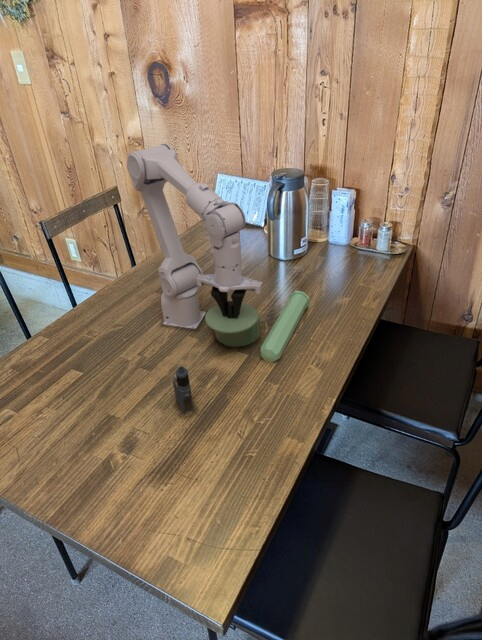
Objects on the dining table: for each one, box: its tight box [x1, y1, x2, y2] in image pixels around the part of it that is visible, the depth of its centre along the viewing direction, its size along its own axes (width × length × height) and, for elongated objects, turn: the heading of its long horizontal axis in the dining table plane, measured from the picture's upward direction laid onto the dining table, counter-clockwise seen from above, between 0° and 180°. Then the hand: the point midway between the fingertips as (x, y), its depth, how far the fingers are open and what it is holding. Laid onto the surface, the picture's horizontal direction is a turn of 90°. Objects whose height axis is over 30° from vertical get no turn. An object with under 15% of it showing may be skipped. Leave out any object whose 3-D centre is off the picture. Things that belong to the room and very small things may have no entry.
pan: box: [214, 307, 261, 347], centre depth 112 cm, size 11×11×6 cm
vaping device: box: [172, 365, 195, 415], centre depth 90 cm, size 3×5×12 cm, turn 28°
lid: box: [204, 300, 257, 333], centre depth 102 cm, size 12×12×4 cm
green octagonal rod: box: [260, 290, 311, 363], centre depth 111 cm, size 6×6×25 cm
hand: (231, 314), depth 102 cm, fingers closed on lid, 2 cm apart
